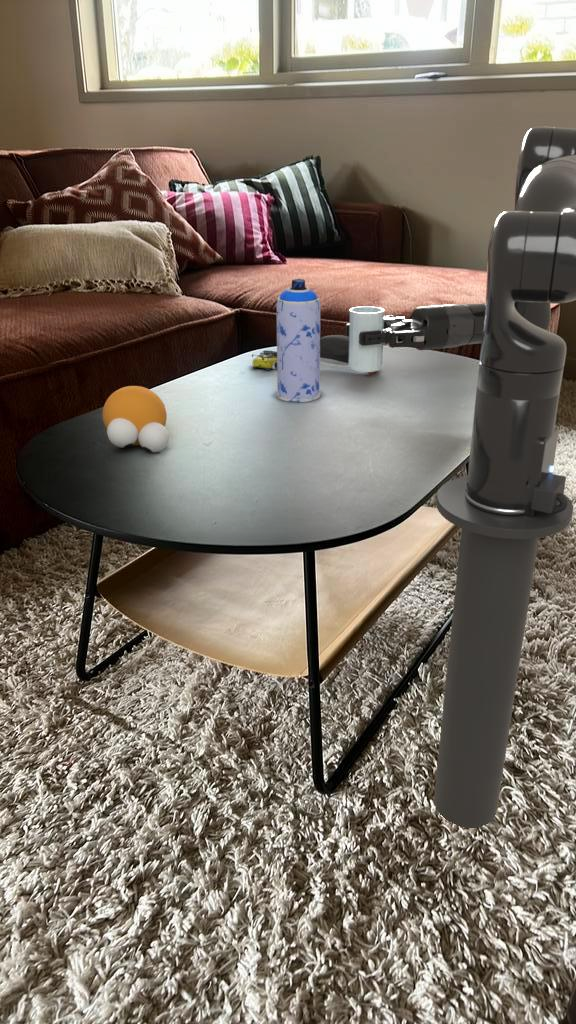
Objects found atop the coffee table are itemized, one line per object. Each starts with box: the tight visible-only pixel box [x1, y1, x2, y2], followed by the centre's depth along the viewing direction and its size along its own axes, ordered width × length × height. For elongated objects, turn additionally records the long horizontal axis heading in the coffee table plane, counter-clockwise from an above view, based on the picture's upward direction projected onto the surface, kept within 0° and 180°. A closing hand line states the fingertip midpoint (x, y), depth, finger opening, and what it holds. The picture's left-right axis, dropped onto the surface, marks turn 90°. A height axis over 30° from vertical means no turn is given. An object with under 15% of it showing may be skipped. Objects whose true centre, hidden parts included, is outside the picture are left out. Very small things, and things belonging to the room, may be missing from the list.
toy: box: [102, 385, 170, 453], centre depth 114 cm, size 9×10×15 cm
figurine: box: [320, 334, 377, 376], centre depth 150 cm, size 7×10×15 cm
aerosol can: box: [275, 278, 322, 403], centre depth 132 cm, size 8×8×20 cm
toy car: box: [251, 350, 277, 371], centre depth 155 cm, size 5×10×3 cm, turn 155°
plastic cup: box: [347, 305, 385, 373], centre depth 131 cm, size 6×6×10 cm
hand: (353, 334), depth 130 cm, fingers closed on plastic cup, 6 cm apart
